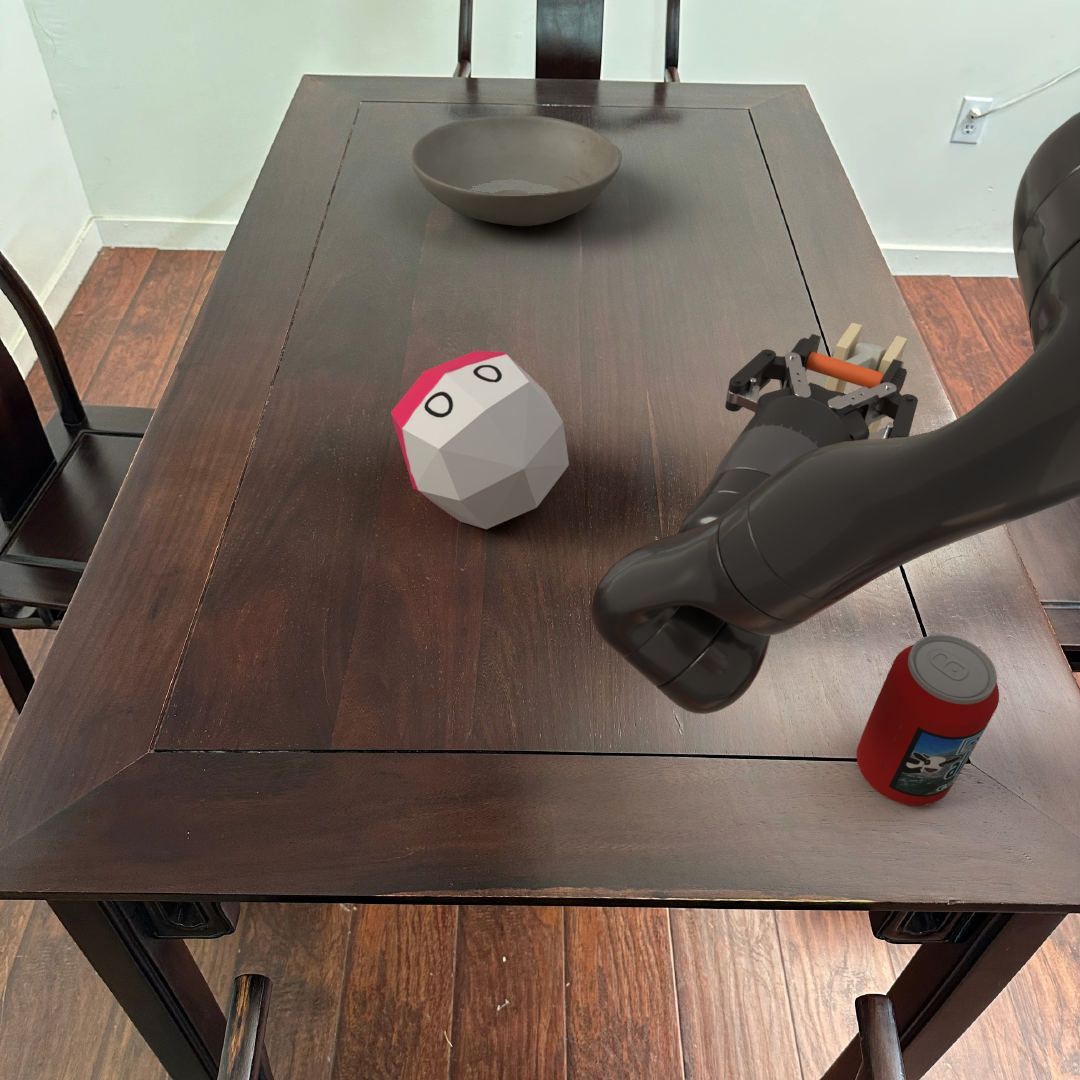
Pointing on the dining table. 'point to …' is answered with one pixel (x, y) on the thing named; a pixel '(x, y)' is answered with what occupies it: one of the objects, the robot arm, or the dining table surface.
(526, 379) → the decorative object
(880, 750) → the beverage can
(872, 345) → the lever
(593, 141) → the bowl
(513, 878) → the dining table surface
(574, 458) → the dining table surface
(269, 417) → the dining table surface
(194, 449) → the dining table surface
